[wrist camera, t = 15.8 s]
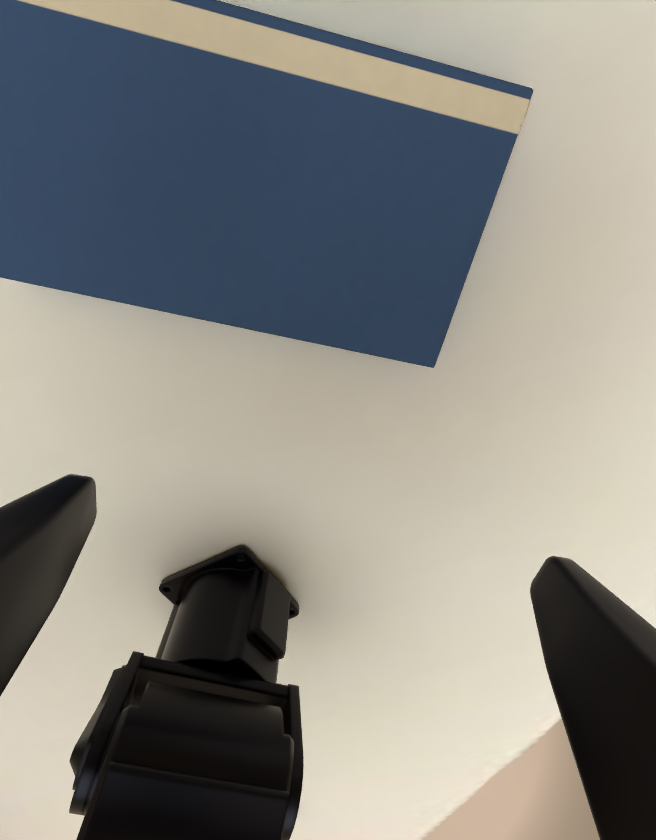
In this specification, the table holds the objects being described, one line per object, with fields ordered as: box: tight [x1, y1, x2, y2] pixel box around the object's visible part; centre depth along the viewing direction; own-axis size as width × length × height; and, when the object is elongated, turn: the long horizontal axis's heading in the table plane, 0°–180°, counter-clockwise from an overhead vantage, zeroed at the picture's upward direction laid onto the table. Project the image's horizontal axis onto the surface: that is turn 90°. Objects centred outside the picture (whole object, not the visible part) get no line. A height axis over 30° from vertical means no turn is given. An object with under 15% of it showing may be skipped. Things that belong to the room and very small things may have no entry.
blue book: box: [0, 0, 533, 368], centre depth 17 cm, size 10×18×2 cm, turn 78°
